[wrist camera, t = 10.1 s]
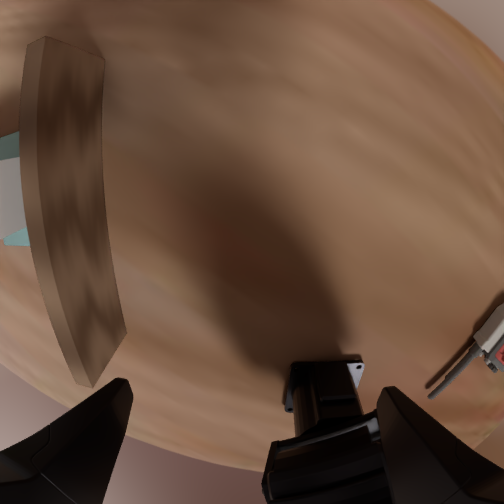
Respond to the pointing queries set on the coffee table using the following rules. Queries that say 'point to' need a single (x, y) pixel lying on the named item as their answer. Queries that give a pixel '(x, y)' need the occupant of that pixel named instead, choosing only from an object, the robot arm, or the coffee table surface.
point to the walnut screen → (69, 202)
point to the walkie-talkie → (481, 349)
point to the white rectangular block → (11, 198)
